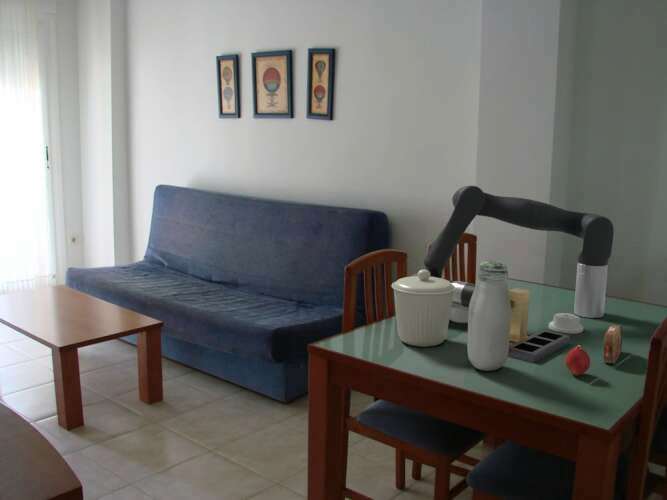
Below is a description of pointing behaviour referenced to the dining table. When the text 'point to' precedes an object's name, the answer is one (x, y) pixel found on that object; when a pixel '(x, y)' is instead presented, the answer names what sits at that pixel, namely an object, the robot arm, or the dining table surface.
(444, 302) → the canister
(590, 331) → the dining table surface
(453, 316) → the ramekin
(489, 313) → the glass bottle
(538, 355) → the compartment tray
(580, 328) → the mechanical component
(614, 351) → the tin
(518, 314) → the brass block
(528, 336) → the tile
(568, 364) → the pomegranate
